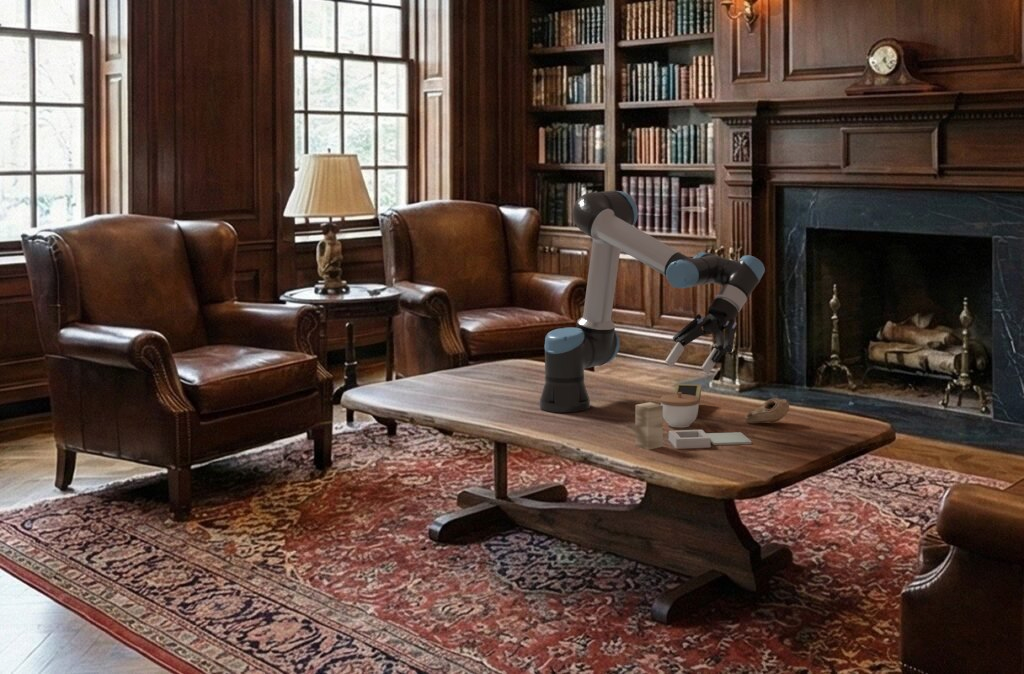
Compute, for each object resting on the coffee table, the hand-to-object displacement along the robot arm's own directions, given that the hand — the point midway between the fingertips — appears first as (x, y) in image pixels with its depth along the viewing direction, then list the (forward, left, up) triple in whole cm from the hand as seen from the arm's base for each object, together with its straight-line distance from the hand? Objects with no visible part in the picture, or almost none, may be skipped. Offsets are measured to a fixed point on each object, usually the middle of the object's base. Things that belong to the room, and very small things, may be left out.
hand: (686, 367), depth 299 cm
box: (+7, +30, -20) cm, 37 cm away
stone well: (0, -5, -19) cm, 20 cm away
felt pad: (+11, -2, -19) cm, 22 cm away
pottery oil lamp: (+26, +13, -20) cm, 35 cm away
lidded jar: (+2, +15, -20) cm, 25 cm away
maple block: (-11, -6, -19) cm, 23 cm away
